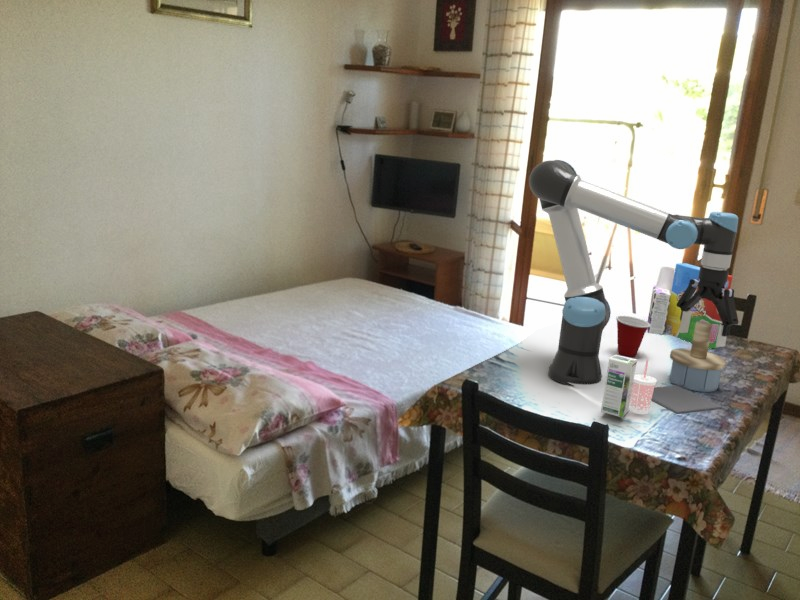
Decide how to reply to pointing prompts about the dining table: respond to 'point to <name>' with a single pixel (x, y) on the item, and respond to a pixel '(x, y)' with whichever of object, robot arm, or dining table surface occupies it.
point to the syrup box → (618, 385)
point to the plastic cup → (630, 335)
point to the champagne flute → (665, 278)
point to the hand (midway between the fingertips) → (701, 339)
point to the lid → (699, 351)
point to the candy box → (658, 310)
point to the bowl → (694, 378)
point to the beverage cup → (642, 392)
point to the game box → (700, 310)
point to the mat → (681, 400)
